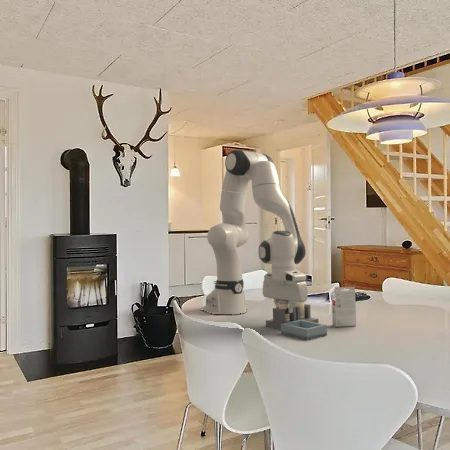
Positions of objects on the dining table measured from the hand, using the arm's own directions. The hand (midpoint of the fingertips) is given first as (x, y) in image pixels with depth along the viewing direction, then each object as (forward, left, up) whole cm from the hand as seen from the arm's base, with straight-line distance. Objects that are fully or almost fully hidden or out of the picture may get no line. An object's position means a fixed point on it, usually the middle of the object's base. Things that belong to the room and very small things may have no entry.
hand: (284, 311), depth 171 cm
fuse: (0, +8, -4) cm, 9 cm away
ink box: (+14, +17, -6) cm, 23 cm away
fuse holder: (0, +4, -6) cm, 7 cm away
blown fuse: (0, 0, -4) cm, 4 cm away
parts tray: (+13, -4, -6) cm, 15 cm away
